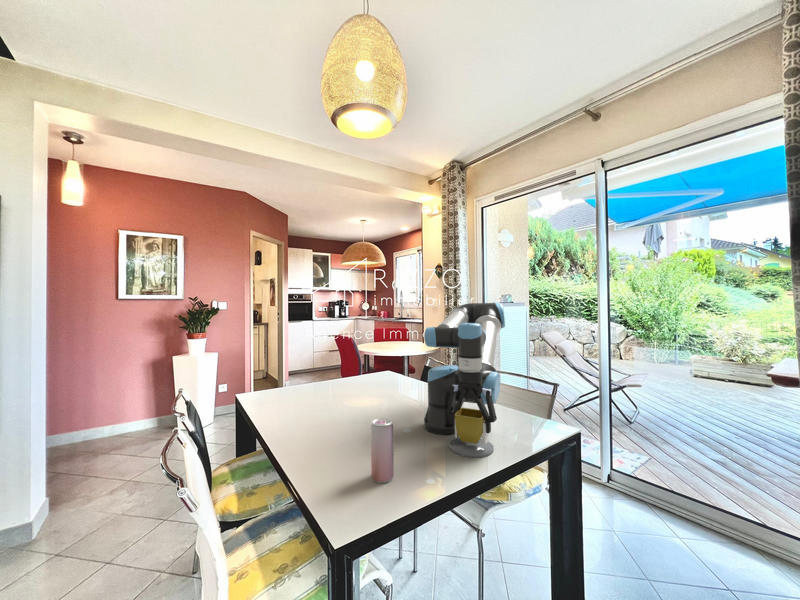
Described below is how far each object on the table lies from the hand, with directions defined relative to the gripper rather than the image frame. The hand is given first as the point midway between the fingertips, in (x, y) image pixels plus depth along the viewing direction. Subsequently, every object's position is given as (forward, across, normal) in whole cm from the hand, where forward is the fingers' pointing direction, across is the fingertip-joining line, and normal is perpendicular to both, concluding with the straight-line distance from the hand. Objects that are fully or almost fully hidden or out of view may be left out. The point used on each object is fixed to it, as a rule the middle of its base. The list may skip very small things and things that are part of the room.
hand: (471, 439), depth 105 cm
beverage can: (+3, -13, -31) cm, 34 cm away
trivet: (+3, 0, 0) cm, 3 cm away
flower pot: (0, 0, 0) cm, 0 cm away
